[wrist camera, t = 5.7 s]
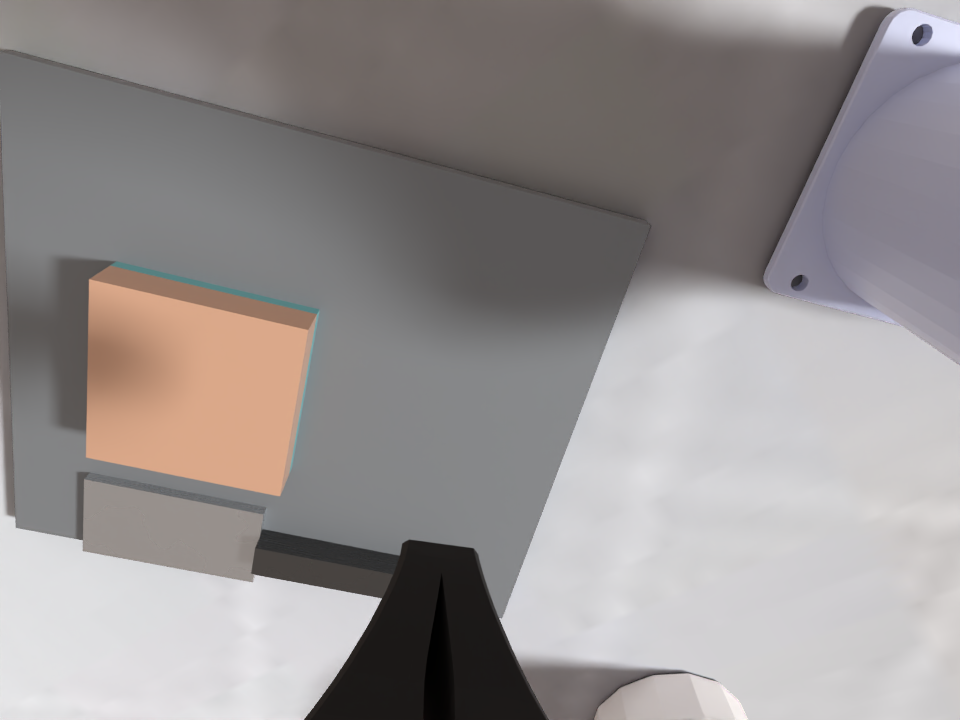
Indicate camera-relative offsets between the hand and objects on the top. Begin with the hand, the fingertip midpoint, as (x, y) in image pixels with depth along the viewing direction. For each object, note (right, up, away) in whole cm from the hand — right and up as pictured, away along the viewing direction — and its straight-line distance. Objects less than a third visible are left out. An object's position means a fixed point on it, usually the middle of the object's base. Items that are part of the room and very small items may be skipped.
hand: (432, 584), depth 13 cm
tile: (-5, +3, +8) cm, 10 cm away
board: (-5, +3, +10) cm, 11 cm away
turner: (-7, -2, +12) cm, 14 cm away
